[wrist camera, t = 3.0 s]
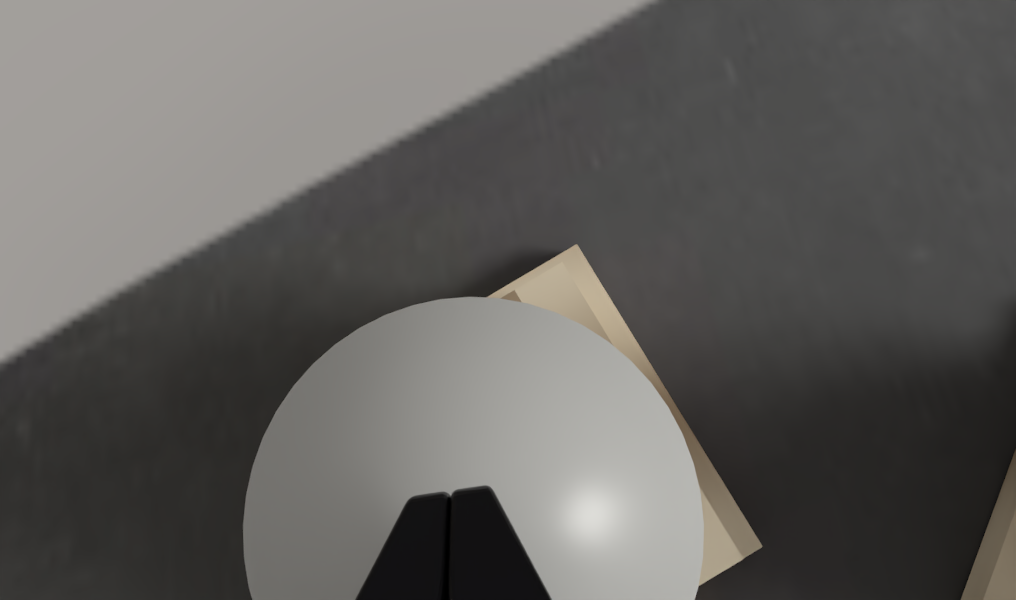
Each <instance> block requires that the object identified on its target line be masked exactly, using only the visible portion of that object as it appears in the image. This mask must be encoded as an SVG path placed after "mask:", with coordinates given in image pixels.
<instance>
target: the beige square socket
mask: <svg viewBox="0 0 1016 600" xmlns="http://www.w3.org/2000/svg"><path fill="white" fill-rule="evenodd" d="M486 298H500V299H506V300H511V301H517V302H522V303H528V304H531V305H534V306H537V307H540V308H544V309H547V310H550V311H553V312H556V313H558V314H560V315H562V316H565V317H567V318H569V319H571V320H573V321H575V322H577V323H579V324H581V325H583V326H585V327H586V328H588V329H590V330H591V331H593V332H594V333H596V334H597V335H599V336H601V337H602V338H604V339H605V340H607V341H608V342H609V343H611V344H612V345H613V346H614V347H615V348H616V349H618V350H619V351H620V352H621V353H622V354H624V355H625V356H626V357H627V358H628V359H630V360H631V361H632V362H633V364H634V365H635V366H636V367H637V368H638V369H639V370H640V371H641V372H642V373H643V374H644V376H645V377H646V378H647V379H648V380H649V381H650V382H651V383H652V385H653V386H654V388H655V389H656V390H657V392H658V393H659V395H660V396H661V397H662V399H663V400H664V402H665V403H666V405H667V406H668V407H669V409H670V411H671V413H672V415H673V417H674V419H675V421H676V423H677V424H678V426H679V428H680V430H681V432H682V434H683V436H684V439H685V442H686V444H687V447H688V450H689V452H690V455H691V458H692V460H693V463H694V467H695V471H696V476H697V480H698V484H699V488H700V493H701V501H702V511H703V521H704V542H703V560H702V567H701V573H700V579H699V586H700V585H701V584H703V583H705V582H706V581H708V580H710V579H711V578H713V577H715V576H716V575H718V574H720V573H721V572H723V571H725V570H726V569H728V568H730V567H731V566H733V565H735V564H736V563H738V562H740V561H741V560H743V558H745V557H747V556H748V555H750V554H752V553H753V552H755V551H757V550H758V549H760V548H762V547H763V546H762V545H761V543H760V541H759V540H758V538H757V536H756V535H755V533H754V532H753V530H752V528H751V527H750V525H749V523H748V522H747V520H746V519H745V517H744V515H743V514H742V512H741V510H740V509H739V507H738V506H737V504H736V502H735V501H734V499H733V497H732V496H731V494H730V493H729V491H728V489H727V488H726V486H725V484H724V483H723V481H722V480H721V478H720V476H719V475H718V473H717V471H716V470H715V468H714V467H713V465H712V463H711V462H710V460H709V458H708V457H707V455H706V453H705V452H704V450H703V449H702V447H701V445H700V444H699V442H698V440H697V439H696V437H695V436H694V434H693V432H692V431H691V429H690V427H689V426H688V424H687V423H686V421H685V419H684V418H683V416H682V414H681V413H680V411H679V410H678V408H677V406H676V405H675V403H674V401H673V400H672V398H671V397H670V395H669V393H668V392H667V390H666V388H665V387H664V385H663V384H662V382H661V380H660V379H659V377H658V375H657V374H656V372H655V371H654V369H653V367H652V366H651V364H650V362H649V361H648V359H647V358H646V356H645V354H644V353H643V351H642V349H641V348H640V346H639V345H638V343H637V341H636V340H635V338H634V336H633V335H632V333H631V332H630V330H629V328H628V327H627V325H626V323H625V322H624V320H623V319H622V317H621V315H620V314H619V312H618V310H617V309H616V307H615V305H614V304H613V302H612V301H611V299H610V297H609V296H608V294H607V292H606V291H605V289H604V288H603V286H602V284H601V283H600V281H599V279H598V278H597V276H596V275H595V273H594V271H593V270H592V268H591V266H590V265H589V263H588V262H587V260H586V258H585V257H584V255H583V253H582V252H581V250H580V249H579V247H578V245H577V244H576V245H574V246H573V247H571V248H569V249H568V250H566V251H564V252H563V253H561V254H559V255H557V256H556V257H554V258H552V259H551V260H549V261H547V262H546V263H544V264H542V265H541V266H539V267H537V268H535V269H534V270H532V271H530V272H529V273H527V274H525V275H524V276H522V277H520V278H518V279H517V280H515V281H513V282H512V283H510V284H508V285H507V286H505V287H503V288H501V289H500V290H498V291H496V292H495V293H493V294H491V295H490V296H488V297H486Z"/></svg>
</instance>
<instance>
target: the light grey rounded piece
mask: <svg viewBox="0 0 1016 600" xmlns="http://www.w3.org/2000/svg"><path fill="white" fill-rule="evenodd" d="M483 485H487V486H490V487H491V488H492V489H493V490H494V492H495V494H496V496H497V498H498V500H499V501H500V503H501V505H502V507H503V509H504V511H505V513H506V514H507V516H508V518H509V520H510V522H511V524H512V526H513V528H514V529H515V531H516V533H517V535H518V537H519V539H520V541H521V542H522V544H523V546H524V548H525V550H526V552H527V554H528V556H529V557H530V559H531V561H532V563H533V565H534V567H535V569H536V571H537V572H538V574H539V576H540V578H541V580H542V582H543V584H544V585H545V587H546V589H547V591H548V593H549V595H550V597H551V599H552V600H695V597H696V594H697V590H698V586H699V579H700V573H701V567H702V560H703V542H704V521H703V511H702V501H701V493H700V488H699V484H698V480H697V476H696V471H695V467H694V463H693V460H692V458H691V455H690V452H689V450H688V447H687V444H686V442H685V439H684V436H683V434H682V432H681V430H680V428H679V426H678V424H677V423H676V421H675V419H674V417H673V415H672V413H671V411H670V409H669V407H668V406H667V405H666V403H665V402H664V400H663V399H662V397H661V396H660V395H659V393H658V392H657V390H656V389H655V388H654V386H653V385H652V383H651V382H650V381H649V380H648V379H647V378H646V377H645V376H644V374H643V373H642V372H641V371H640V370H639V369H638V368H637V367H636V366H635V365H634V364H633V362H632V361H631V360H630V359H628V358H627V357H626V356H625V355H624V354H622V353H621V352H620V351H619V350H618V349H616V348H615V347H614V346H613V345H612V344H611V343H609V342H608V341H607V340H605V339H604V338H602V337H601V336H599V335H597V334H596V333H594V332H593V331H591V330H590V329H588V328H586V327H585V326H583V325H581V324H579V323H577V322H575V321H573V320H571V319H569V318H567V317H565V316H562V315H560V314H558V313H556V312H553V311H550V310H547V309H544V308H540V307H537V306H534V305H531V304H528V303H522V302H517V301H511V300H506V299H500V298H484V297H462V298H449V299H439V300H435V301H430V302H425V303H421V304H416V305H412V306H409V307H406V308H403V309H401V310H398V311H395V312H392V313H389V314H386V315H384V316H382V317H380V318H378V319H376V320H374V321H372V322H370V323H368V324H366V325H364V326H362V327H360V328H359V329H357V330H356V331H354V332H353V333H351V334H350V335H348V336H347V337H345V338H344V339H342V340H341V341H339V342H338V343H336V344H335V345H334V346H333V347H331V348H330V349H329V350H328V351H327V352H326V353H325V354H324V355H322V356H321V357H320V358H319V359H318V360H317V361H316V362H314V363H313V364H312V365H311V367H310V368H309V369H308V370H307V371H306V372H305V373H304V375H303V376H302V377H301V378H300V379H299V380H298V381H297V382H296V384H295V385H294V386H293V387H292V389H291V390H290V392H289V393H288V395H287V396H286V398H285V399H284V400H283V402H282V403H281V405H280V406H279V408H278V409H277V411H276V413H275V415H274V417H273V419H272V421H271V423H270V425H269V426H268V428H267V430H266V432H265V434H264V436H263V439H262V441H261V444H260V447H259V450H258V452H257V455H256V458H255V461H254V464H253V467H252V471H251V475H250V480H249V484H248V489H247V493H246V500H245V511H244V521H243V543H244V561H245V567H246V573H247V580H248V586H249V590H250V593H251V597H252V600H355V599H356V597H357V595H358V593H359V591H360V589H361V587H362V586H363V584H364V582H365V580H366V578H367V576H368V574H369V572H370V570H371V568H372V566H373V565H374V563H375V561H376V559H377V557H378V555H379V553H380V551H381V549H382V547H383V545H384V544H385V542H386V540H387V538H388V536H389V534H390V532H391V530H392V528H393V526H394V524H395V523H396V521H397V519H398V517H399V515H400V513H401V511H402V509H403V507H404V505H405V504H406V502H407V501H408V499H410V498H411V497H412V496H415V495H421V494H428V493H435V492H442V491H443V492H447V493H449V494H450V496H451V495H452V492H453V491H455V490H457V489H462V488H469V487H476V486H483Z"/></svg>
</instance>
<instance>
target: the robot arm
mask: <svg viewBox="0 0 1016 600" xmlns="http://www.w3.org/2000/svg"><path fill="white" fill-rule="evenodd" d="M355 600H552V599H551V597H550V595H549V593H548V591H547V589H546V587H545V585H544V584H543V582H542V580H541V578H540V576H539V574H538V572H537V571H536V569H535V567H534V565H533V563H532V561H531V559H530V557H529V556H528V554H527V552H526V550H525V548H524V546H523V544H522V542H521V541H520V539H519V537H518V535H517V533H516V531H515V529H514V528H513V526H512V524H511V522H510V520H509V518H508V516H507V514H506V513H505V511H504V509H503V507H502V505H501V503H500V501H499V500H498V498H497V496H496V494H495V492H494V490H493V489H492V488H491V487H490V486H487V485H483V486H476V487H469V488H462V489H457V490H455V491H453V492H452V495H451V496H450V494H449V493H447V492H443V491H442V492H435V493H428V494H421V495H415V496H412V497H411V498H410V499H408V501H407V502H406V504H405V505H404V507H403V509H402V511H401V513H400V515H399V517H398V519H397V521H396V523H395V524H394V526H393V528H392V530H391V532H390V534H389V536H388V538H387V540H386V542H385V544H384V545H383V547H382V549H381V551H380V553H379V555H378V557H377V559H376V561H375V563H374V565H373V566H372V568H371V570H370V572H369V574H368V576H367V578H366V580H365V582H364V584H363V586H362V587H361V589H360V591H359V593H358V595H357V597H356V599H355Z"/></svg>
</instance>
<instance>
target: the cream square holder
mask: <svg viewBox="0 0 1016 600" xmlns="http://www.w3.org/2000/svg"><path fill="white" fill-rule="evenodd" d="M961 600H1016V450H1015V452H1014V455H1013V458H1012V460H1011V463H1010V466H1009V469H1008V471H1007V474H1006V477H1005V480H1004V482H1003V485H1002V488H1001V491H1000V493H999V496H998V499H997V502H996V504H995V507H994V510H993V512H992V515H991V518H990V521H989V523H988V526H987V529H986V532H985V534H984V537H983V540H982V543H981V545H980V548H979V551H978V554H977V556H976V559H975V562H974V564H973V567H972V570H971V573H970V575H969V578H968V581H967V584H966V586H965V589H964V592H963V595H962V597H961Z"/></svg>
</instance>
